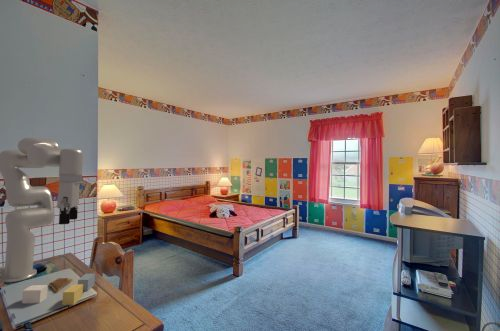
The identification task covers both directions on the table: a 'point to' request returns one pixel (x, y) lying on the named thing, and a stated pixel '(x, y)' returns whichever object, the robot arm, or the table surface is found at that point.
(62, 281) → the shard
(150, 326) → the table surface
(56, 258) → the table surface
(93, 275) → the slate brick
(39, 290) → the cream brick
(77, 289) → the mustard brick
